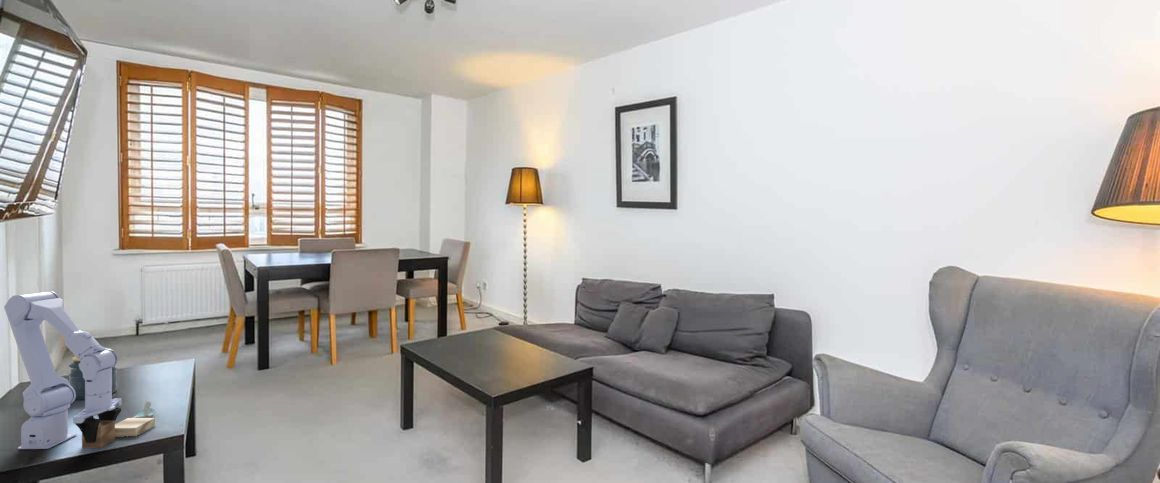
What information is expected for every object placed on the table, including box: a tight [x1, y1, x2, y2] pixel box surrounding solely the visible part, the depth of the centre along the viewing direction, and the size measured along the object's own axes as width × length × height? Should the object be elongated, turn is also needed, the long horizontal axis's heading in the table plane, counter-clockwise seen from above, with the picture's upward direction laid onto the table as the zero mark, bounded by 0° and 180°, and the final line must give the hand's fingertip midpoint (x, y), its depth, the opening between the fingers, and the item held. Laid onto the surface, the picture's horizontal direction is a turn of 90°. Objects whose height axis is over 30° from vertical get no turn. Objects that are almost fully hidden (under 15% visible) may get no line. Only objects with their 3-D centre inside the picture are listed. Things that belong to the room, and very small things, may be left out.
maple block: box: [115, 417, 156, 438], centre depth 159 cm, size 8×8×3 cm
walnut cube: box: [81, 420, 116, 449], centre depth 149 cm, size 5×5×6 cm
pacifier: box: [132, 399, 156, 418], centre depth 168 cm, size 7×6×6 cm
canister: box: [68, 355, 118, 400], centre depth 188 cm, size 13×13×18 cm
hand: (98, 438), depth 149 cm, fingers closed on walnut cube, 5 cm apart
